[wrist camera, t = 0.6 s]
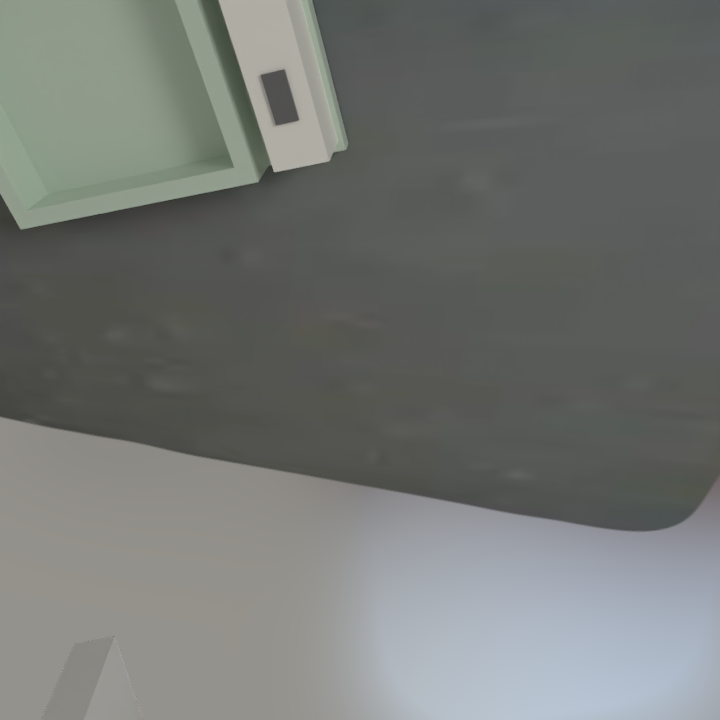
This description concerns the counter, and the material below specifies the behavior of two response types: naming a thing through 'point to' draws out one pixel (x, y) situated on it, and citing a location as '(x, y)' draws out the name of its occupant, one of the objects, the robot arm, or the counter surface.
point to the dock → (156, 101)
